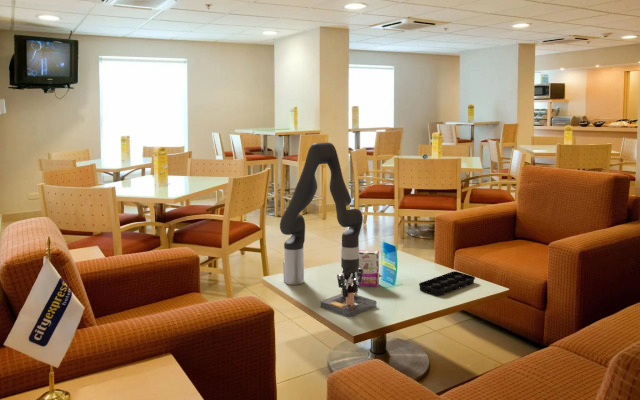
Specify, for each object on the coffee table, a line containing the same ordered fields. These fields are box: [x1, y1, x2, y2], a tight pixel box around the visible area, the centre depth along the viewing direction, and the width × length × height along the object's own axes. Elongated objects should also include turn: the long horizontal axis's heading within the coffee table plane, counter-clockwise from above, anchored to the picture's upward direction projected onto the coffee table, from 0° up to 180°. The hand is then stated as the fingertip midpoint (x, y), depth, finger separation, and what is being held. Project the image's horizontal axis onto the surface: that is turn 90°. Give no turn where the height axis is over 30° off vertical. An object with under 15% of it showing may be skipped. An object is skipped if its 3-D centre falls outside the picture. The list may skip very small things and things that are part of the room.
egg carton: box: [418, 270, 476, 297], centre depth 255 cm, size 18×30×4 cm, turn 143°
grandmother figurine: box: [340, 279, 359, 307], centre depth 231 cm, size 8×4×13 cm, turn 70°
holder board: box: [319, 293, 377, 318], centre depth 231 cm, size 17×16×3 cm
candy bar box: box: [358, 249, 380, 288], centre depth 258 cm, size 11×5×16 cm, turn 76°
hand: (350, 294), depth 231 cm, fingers open, 5 cm apart
